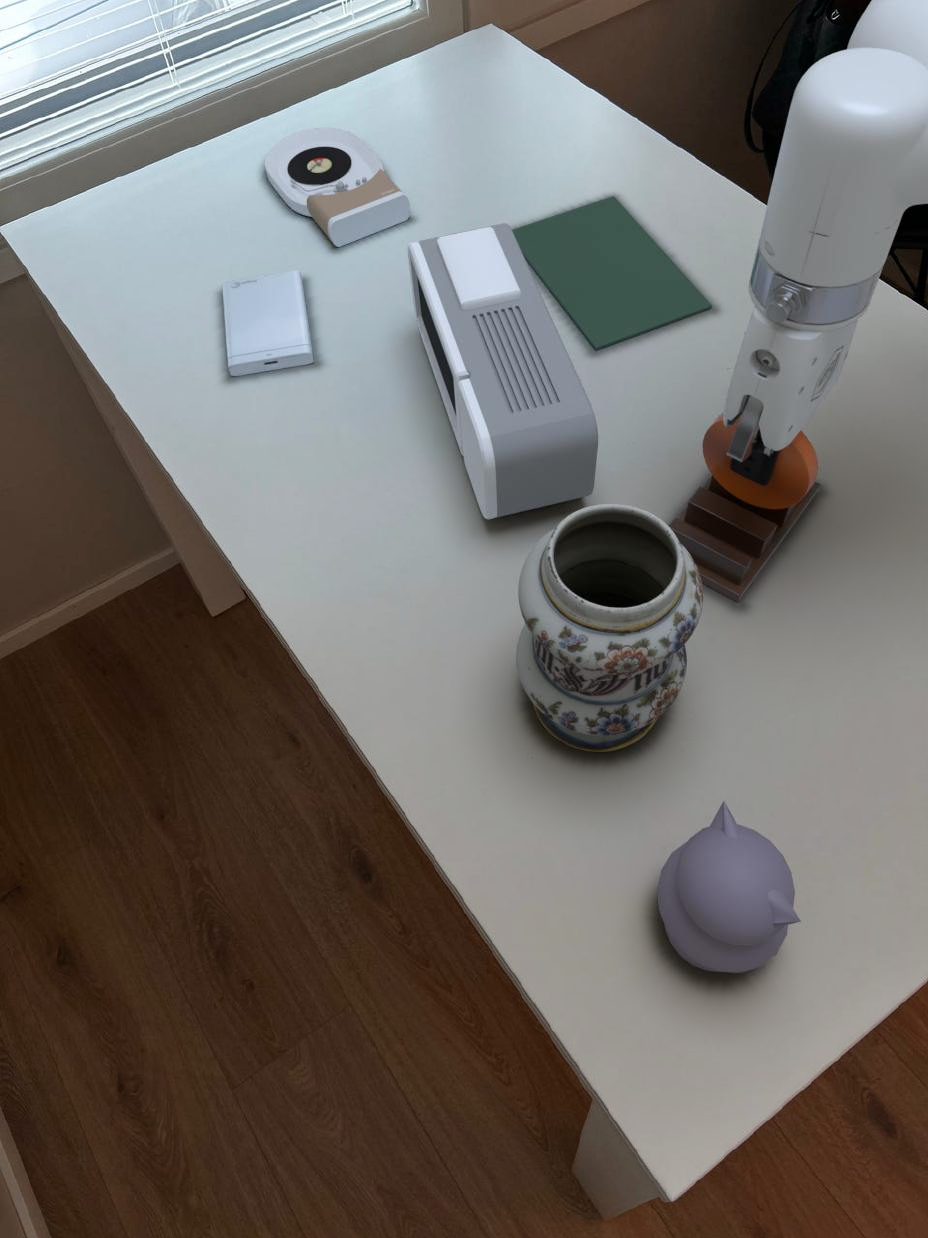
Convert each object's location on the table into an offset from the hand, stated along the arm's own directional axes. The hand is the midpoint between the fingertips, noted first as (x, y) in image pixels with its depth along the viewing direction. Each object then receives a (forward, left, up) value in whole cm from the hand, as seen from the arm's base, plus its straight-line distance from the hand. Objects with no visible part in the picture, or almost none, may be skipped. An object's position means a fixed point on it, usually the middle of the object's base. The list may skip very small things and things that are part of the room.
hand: (756, 465), depth 76 cm
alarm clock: (+18, -16, -7) cm, 25 cm away
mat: (+4, -34, -7) cm, 35 cm away
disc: (0, 0, +1) cm, 1 cm away
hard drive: (+39, -32, -7) cm, 51 cm away
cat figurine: (+11, +32, -7) cm, 35 cm away
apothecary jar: (+15, +14, -7) cm, 22 cm away
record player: (+31, -54, -7) cm, 63 cm away
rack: (0, 0, -7) cm, 7 cm away
